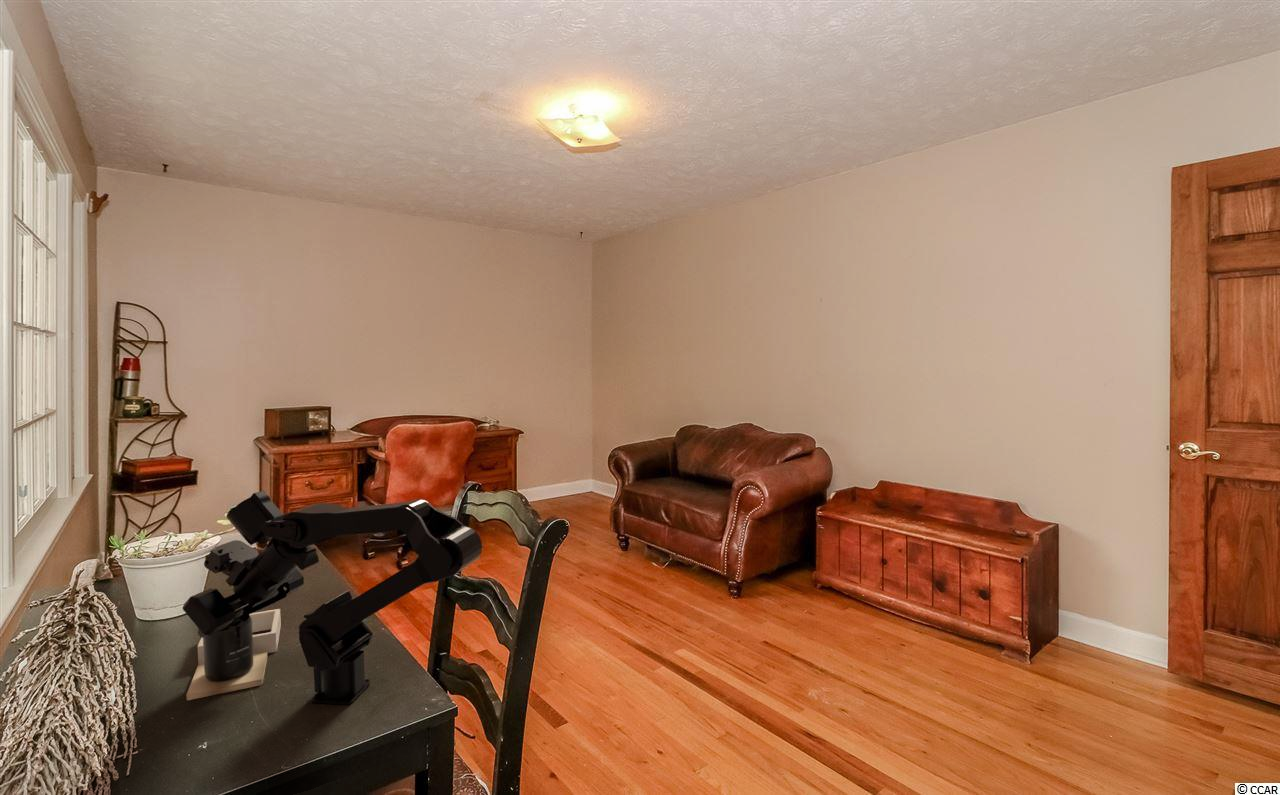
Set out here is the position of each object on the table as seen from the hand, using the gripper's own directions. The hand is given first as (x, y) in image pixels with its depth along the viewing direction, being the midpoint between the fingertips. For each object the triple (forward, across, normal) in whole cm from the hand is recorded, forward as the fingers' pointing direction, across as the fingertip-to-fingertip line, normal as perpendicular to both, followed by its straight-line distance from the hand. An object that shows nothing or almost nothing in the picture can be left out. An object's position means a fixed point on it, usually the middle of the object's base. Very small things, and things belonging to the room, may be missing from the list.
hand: (220, 625), depth 102 cm
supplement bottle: (+5, 0, +7) cm, 8 cm away
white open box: (+11, -10, +2) cm, 15 cm away
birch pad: (+5, 0, +7) cm, 9 cm away
